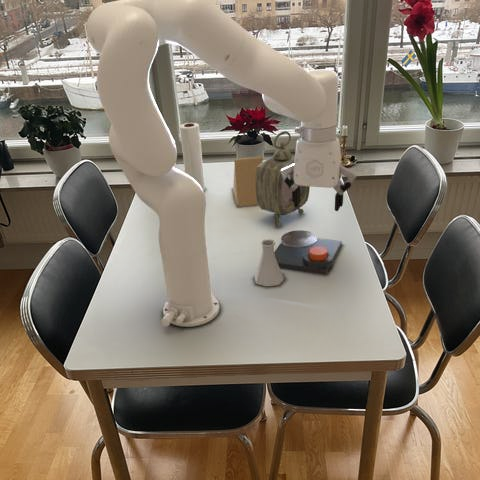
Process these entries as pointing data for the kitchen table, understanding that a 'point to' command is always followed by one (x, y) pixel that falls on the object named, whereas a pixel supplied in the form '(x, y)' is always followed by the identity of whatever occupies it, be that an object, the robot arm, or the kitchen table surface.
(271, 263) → the flask
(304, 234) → the weighing pan
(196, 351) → the kitchen table surface
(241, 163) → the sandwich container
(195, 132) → the paper towel roll
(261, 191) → the tabletop clock
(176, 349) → the kitchen table surface
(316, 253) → the scale button
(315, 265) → the scale
